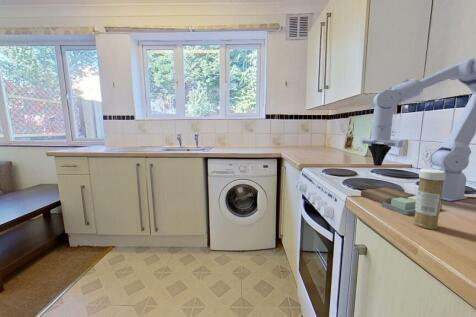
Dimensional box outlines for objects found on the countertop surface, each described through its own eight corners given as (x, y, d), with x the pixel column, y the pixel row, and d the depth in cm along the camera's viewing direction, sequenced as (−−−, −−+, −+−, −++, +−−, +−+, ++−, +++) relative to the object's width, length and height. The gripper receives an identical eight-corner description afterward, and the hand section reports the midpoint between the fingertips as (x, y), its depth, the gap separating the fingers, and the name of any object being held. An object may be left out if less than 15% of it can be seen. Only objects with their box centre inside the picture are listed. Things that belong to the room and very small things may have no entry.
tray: (414, 201, 71) (415, 197, 71) (441, 209, 64) (442, 205, 64) (381, 206, 66) (382, 202, 66) (406, 215, 60) (407, 211, 59)
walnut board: (386, 192, 79) (387, 187, 79) (413, 201, 71) (414, 194, 71) (360, 195, 76) (361, 190, 75) (385, 205, 67) (386, 198, 67)
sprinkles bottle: (440, 226, 53) (448, 170, 51) (433, 231, 51) (442, 173, 49) (416, 219, 57) (424, 167, 55) (409, 224, 54) (416, 169, 52)
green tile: (400, 203, 67) (401, 197, 67) (414, 208, 64) (415, 201, 63) (390, 205, 66) (391, 198, 66) (404, 209, 62) (405, 203, 62)
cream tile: (416, 202, 69) (417, 195, 69) (430, 206, 65) (431, 200, 65) (407, 203, 68) (407, 197, 67) (421, 208, 64) (422, 201, 64)
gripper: (355, 126, 84) (352, 162, 86) (393, 127, 70) (388, 169, 72) (370, 126, 86) (366, 161, 88) (409, 127, 72) (404, 168, 74)
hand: (377, 165), depth 80 cm, fingers closed
